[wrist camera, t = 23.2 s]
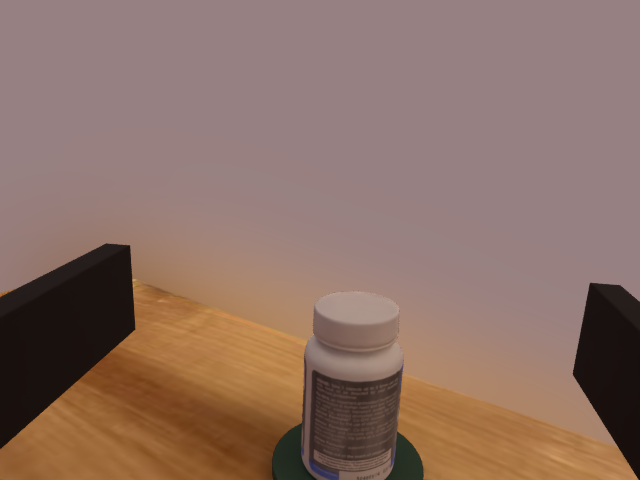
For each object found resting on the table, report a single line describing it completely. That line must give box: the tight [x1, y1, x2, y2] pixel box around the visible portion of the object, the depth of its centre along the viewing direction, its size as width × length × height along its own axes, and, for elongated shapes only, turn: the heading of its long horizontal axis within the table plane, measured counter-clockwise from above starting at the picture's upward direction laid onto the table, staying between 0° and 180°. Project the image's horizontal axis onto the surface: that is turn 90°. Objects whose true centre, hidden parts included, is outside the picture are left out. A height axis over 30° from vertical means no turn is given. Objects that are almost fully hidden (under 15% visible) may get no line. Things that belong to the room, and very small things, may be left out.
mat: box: [272, 423, 423, 480], centre depth 27 cm, size 8×8×1 cm
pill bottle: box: [301, 291, 404, 480], centre depth 25 cm, size 5×5×8 cm
